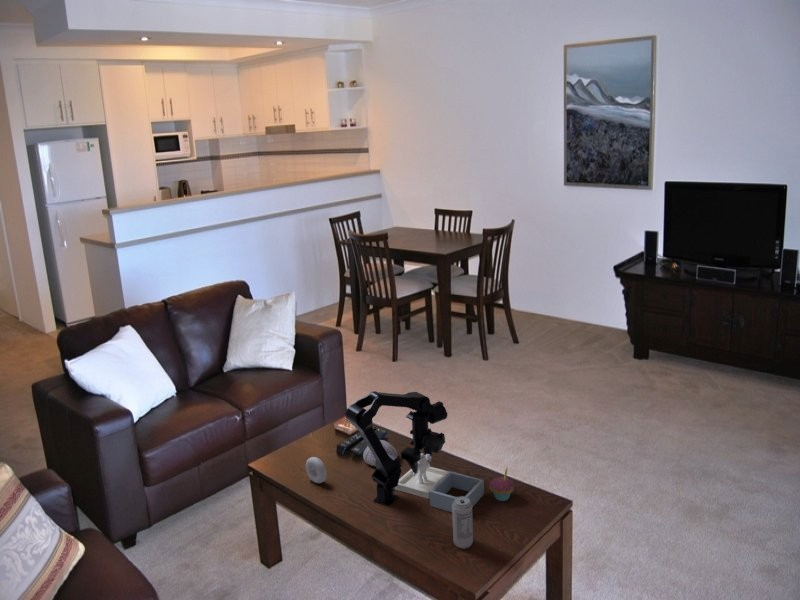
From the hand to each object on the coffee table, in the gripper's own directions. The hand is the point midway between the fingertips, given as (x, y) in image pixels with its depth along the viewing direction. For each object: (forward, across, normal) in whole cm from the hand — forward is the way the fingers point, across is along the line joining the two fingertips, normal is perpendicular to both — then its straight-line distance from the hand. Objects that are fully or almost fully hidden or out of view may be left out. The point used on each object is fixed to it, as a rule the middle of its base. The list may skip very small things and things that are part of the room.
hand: (422, 467), depth 244 cm
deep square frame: (+6, -4, -16) cm, 18 cm away
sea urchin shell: (+7, +7, +23) cm, 25 cm away
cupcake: (+7, +4, -29) cm, 30 cm away
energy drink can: (+7, -25, -29) cm, 39 cm away
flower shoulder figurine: (+6, 0, 0) cm, 6 cm away
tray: (+6, 0, 0) cm, 6 cm away
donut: (+7, -17, +35) cm, 39 cm away
